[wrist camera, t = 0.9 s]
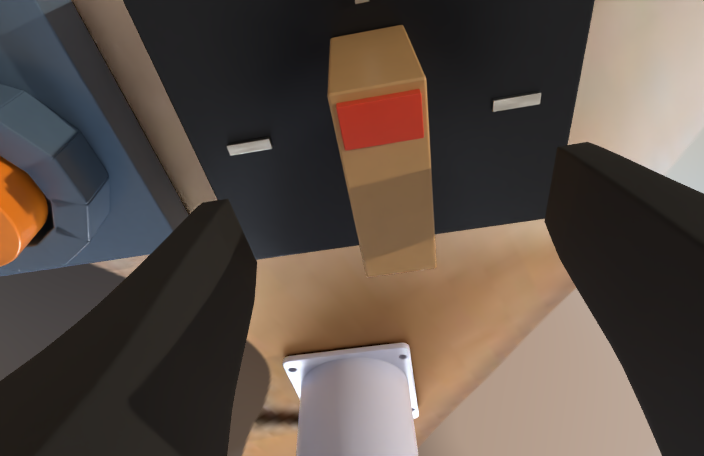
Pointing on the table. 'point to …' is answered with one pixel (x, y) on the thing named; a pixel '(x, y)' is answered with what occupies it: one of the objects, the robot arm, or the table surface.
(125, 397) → the robot arm
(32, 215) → the button
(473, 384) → the table surface
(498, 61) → the control panel
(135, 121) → the button box
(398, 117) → the tan rectangular block
